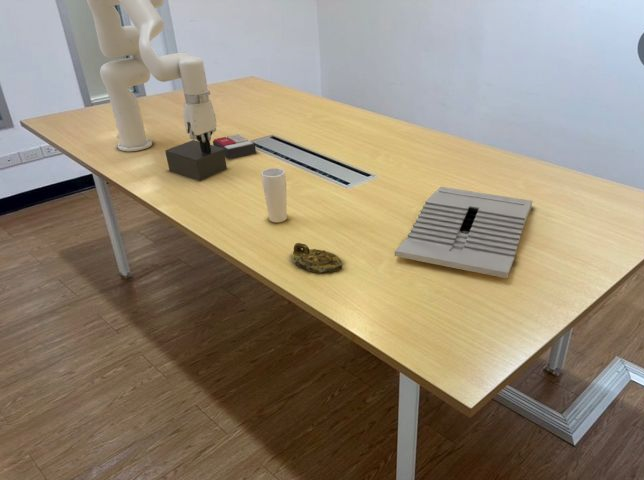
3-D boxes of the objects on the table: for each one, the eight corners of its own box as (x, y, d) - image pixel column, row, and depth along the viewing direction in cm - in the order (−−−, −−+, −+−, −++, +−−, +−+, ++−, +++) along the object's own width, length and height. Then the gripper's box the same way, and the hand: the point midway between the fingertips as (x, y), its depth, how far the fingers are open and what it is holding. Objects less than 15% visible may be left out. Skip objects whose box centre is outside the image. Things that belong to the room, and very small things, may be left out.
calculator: (238, 133, 218) (254, 141, 208) (240, 143, 220) (256, 153, 210) (211, 138, 213) (227, 147, 202) (213, 149, 215) (229, 159, 205)
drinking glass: (267, 214, 168) (262, 167, 159) (290, 213, 168) (285, 167, 160) (265, 225, 162) (260, 177, 154) (289, 224, 163) (284, 176, 154)
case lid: (225, 150, 193) (225, 148, 193) (197, 162, 184) (197, 159, 184) (193, 141, 201) (193, 139, 200) (165, 152, 192) (164, 150, 191)
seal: (350, 264, 146) (301, 251, 151) (351, 248, 144) (301, 235, 149) (333, 278, 138) (282, 264, 144) (334, 261, 136) (282, 247, 141)
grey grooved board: (437, 193, 180) (438, 181, 178) (528, 206, 172) (530, 193, 170) (398, 262, 145) (399, 248, 142) (511, 281, 137) (513, 267, 135)
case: (227, 168, 197) (224, 150, 194) (199, 180, 189) (196, 161, 185) (196, 159, 204) (193, 142, 201) (169, 171, 196) (165, 152, 192)
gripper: (206, 90, 186) (214, 143, 196) (170, 101, 176) (181, 156, 186) (222, 94, 183) (230, 147, 193) (186, 105, 172) (197, 161, 183)
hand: (206, 151), depth 190 cm, fingers closed
